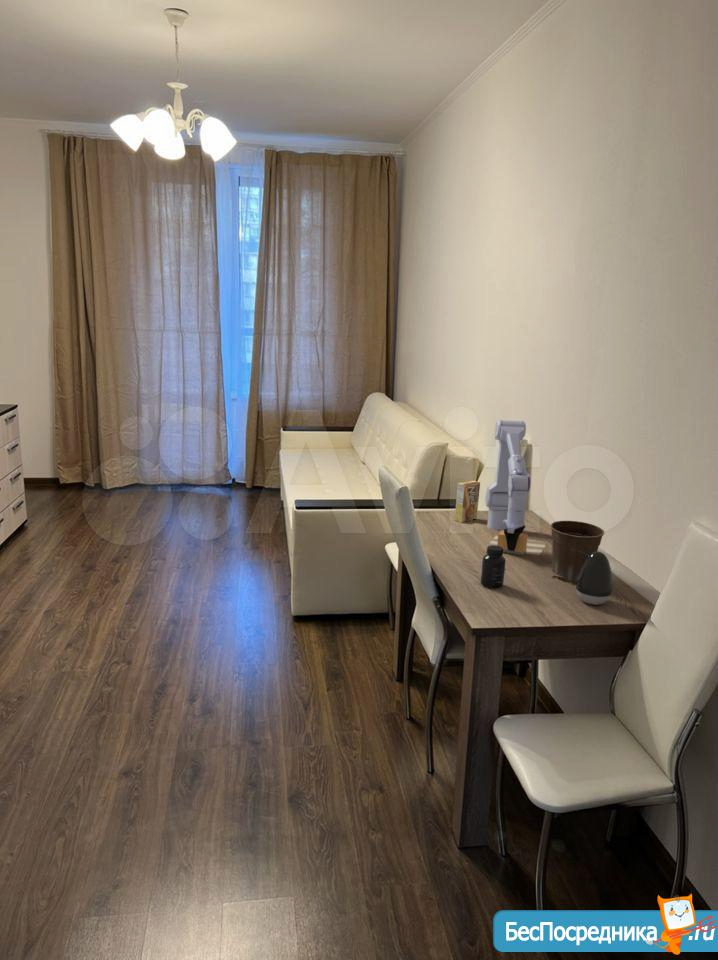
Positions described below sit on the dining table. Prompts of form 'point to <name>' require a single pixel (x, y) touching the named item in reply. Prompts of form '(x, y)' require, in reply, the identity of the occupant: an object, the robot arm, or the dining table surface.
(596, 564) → the black egg shaped device
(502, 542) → the block
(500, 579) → the supplement bottle
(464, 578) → the dining table surface
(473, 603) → the dining table surface
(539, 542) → the board
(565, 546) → the plant pot
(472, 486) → the candy box
